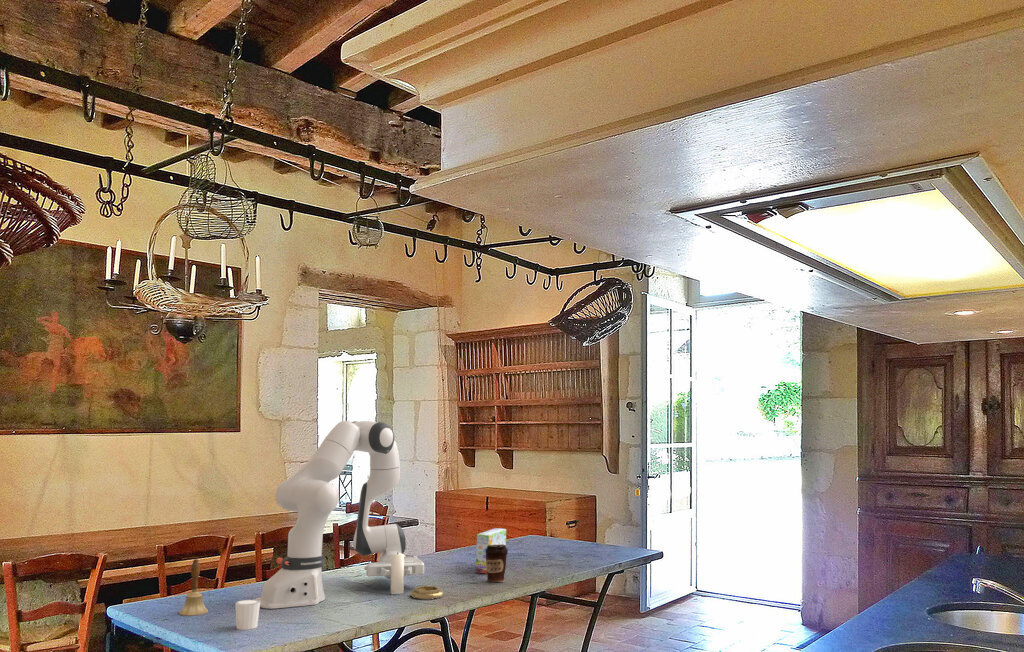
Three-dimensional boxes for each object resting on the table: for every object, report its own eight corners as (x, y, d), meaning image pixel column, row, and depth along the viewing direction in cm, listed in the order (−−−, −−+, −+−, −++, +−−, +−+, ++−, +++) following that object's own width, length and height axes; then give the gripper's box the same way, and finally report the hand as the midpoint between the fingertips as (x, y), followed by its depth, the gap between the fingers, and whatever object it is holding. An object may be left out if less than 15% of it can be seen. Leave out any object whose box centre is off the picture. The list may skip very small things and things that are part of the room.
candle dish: (421, 601, 263) (421, 593, 263) (404, 595, 271) (405, 587, 272) (449, 596, 269) (450, 589, 270) (432, 591, 278) (432, 584, 278)
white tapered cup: (228, 628, 226) (230, 603, 227) (245, 623, 233) (246, 598, 234) (248, 631, 224) (249, 605, 225) (264, 625, 230) (265, 600, 231)
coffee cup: (504, 584, 291) (505, 547, 293) (482, 583, 293) (482, 546, 294) (509, 579, 300) (509, 544, 301) (488, 578, 301) (488, 543, 303)
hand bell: (207, 615, 243) (209, 560, 245) (177, 616, 240) (180, 562, 242) (209, 608, 251) (211, 556, 252) (180, 610, 248) (183, 557, 250)
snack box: (488, 574, 310) (489, 534, 312) (475, 573, 312) (475, 534, 313) (506, 565, 330) (506, 528, 332) (493, 564, 332) (494, 527, 333)
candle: (394, 595, 272) (395, 553, 273) (388, 593, 275) (389, 551, 277) (405, 593, 274) (406, 552, 276) (399, 591, 278) (400, 550, 279)
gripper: (363, 557, 286) (367, 564, 272) (421, 555, 291) (427, 562, 277) (363, 576, 285) (366, 583, 272) (420, 573, 290) (426, 580, 277)
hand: (397, 572), depth 275 cm, fingers open, 6 cm apart
